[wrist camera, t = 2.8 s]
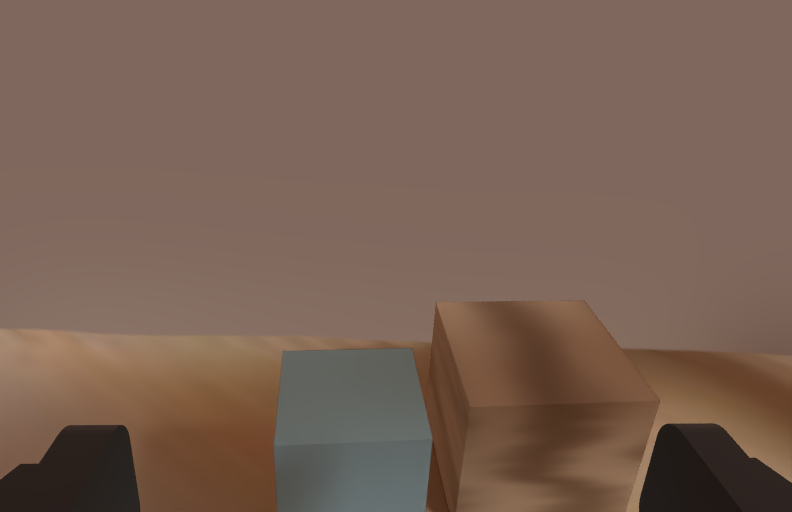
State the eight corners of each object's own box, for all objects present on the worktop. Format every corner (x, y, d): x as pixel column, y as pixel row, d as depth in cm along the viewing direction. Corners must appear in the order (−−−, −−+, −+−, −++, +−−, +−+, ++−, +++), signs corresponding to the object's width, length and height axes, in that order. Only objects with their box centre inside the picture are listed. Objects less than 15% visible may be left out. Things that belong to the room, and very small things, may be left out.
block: (561, 405, 39) (584, 300, 36) (622, 520, 31) (660, 400, 28) (425, 410, 38) (435, 302, 35) (453, 531, 30) (470, 407, 27)
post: (396, 553, 29) (411, 348, 24) (410, 661, 24) (432, 439, 19) (291, 559, 28) (283, 351, 23) (285, 672, 24) (273, 446, 19)
